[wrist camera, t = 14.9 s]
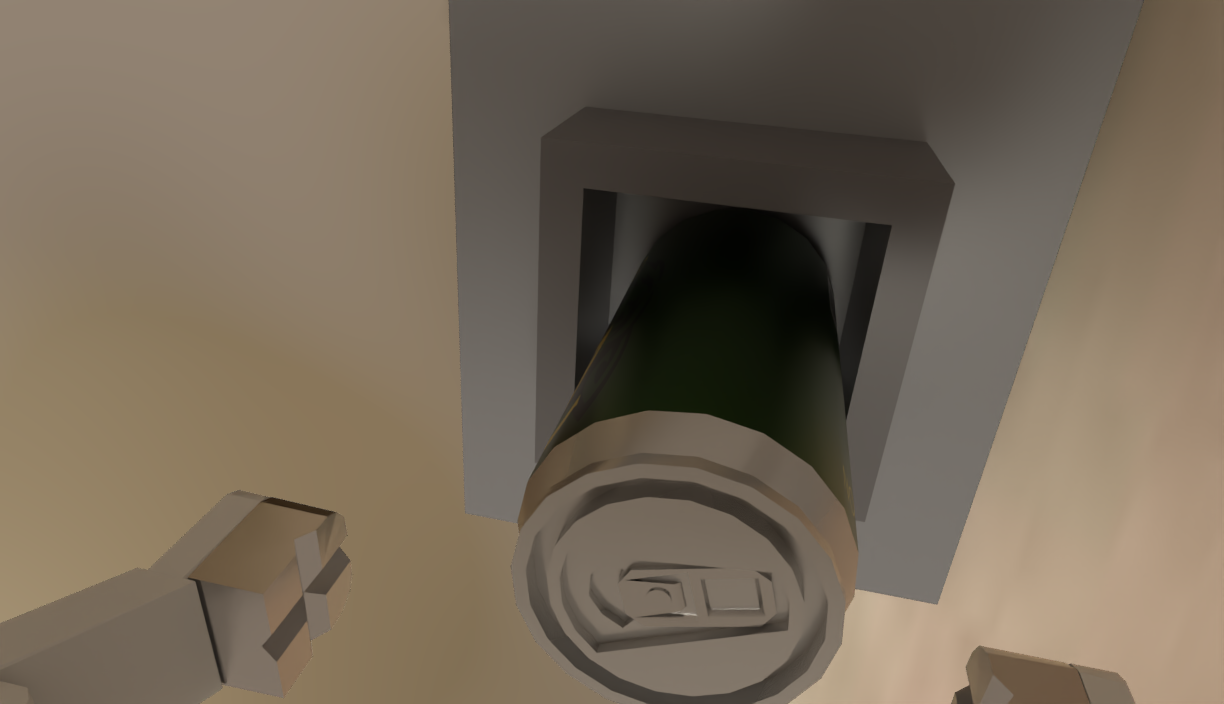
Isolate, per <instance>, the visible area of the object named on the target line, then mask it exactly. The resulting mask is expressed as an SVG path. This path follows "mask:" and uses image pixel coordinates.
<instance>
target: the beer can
mask: <svg viewBox="0 0 1224 704" xmlns="http://www.w3.org/2000/svg"><path fill="white" fill-rule="evenodd" d="M517 523H518V530H519V537H518V541H517V545H516V549H515V553H514V556H513V560H512V564H511V572H512V578H513V586H514V592H515V599H516V605H517V607H518V609H519V611H520V613H521V615H522V617H523V619H524V620H525V622H526V624H527V626H528V628H529V630H530V632H531V634H532V636H533V638H534V640H535V641H536V643H537V644H538V645H539V646H540V647H541V648H542V649H543V650H544V651H545V652H546V653H547V654H548V655H549V656H550V657H551V658H552V659H553V660H554V661H555V662H556V663H557V664H558V665H559V666H560V668H561V669H562V670H563V671H564V672H565V673H566V674H568V675H570V676H571V677H573V678H574V679H576V680H577V681H579V682H581V683H582V684H583V685H585V686H587V687H588V688H590V689H591V690H593V691H594V692H596V693H598V694H599V695H601V696H602V697H604V698H606V699H608V700H611V701H613V702H616V703H619V704H788V703H789V702H791V701H792V700H793V699H795V698H796V697H797V696H799V695H800V694H801V693H803V692H804V691H805V690H807V689H808V688H809V687H810V686H812V685H813V684H814V683H816V682H817V681H818V680H820V679H821V678H822V676H823V675H824V673H825V671H826V669H827V668H828V666H829V664H830V663H831V661H832V659H833V658H834V656H835V654H836V652H837V651H838V649H839V647H840V646H841V644H842V636H843V626H844V615H845V612H846V610H847V608H848V606H849V605H850V603H851V601H852V600H853V598H854V593H855V583H856V574H857V564H858V555H859V552H858V542H857V531H856V521H855V510H854V500H853V489H852V479H851V468H850V458H849V447H848V437H847V427H846V416H845V406H844V395H843V385H842V374H841V364H840V353H839V343H838V332H837V322H836V311H835V301H834V293H833V289H832V286H831V282H830V279H829V275H828V272H827V268H826V265H825V263H824V262H823V260H822V259H821V258H820V256H819V255H818V253H817V252H816V251H815V249H814V248H813V246H812V245H811V244H810V242H809V241H808V239H807V238H805V237H804V236H802V235H801V234H800V233H798V232H797V231H795V230H794V229H793V228H791V227H790V226H788V225H787V224H786V223H784V222H783V221H781V220H779V219H776V218H773V217H770V216H767V215H764V214H761V213H757V212H754V211H751V210H713V211H710V212H707V213H703V214H700V215H697V216H694V217H691V218H687V219H685V220H683V221H682V222H680V223H679V224H678V225H676V226H675V227H673V228H672V229H671V230H669V231H668V232H666V233H665V234H664V235H662V236H661V237H660V238H659V239H658V240H657V242H656V243H655V245H654V246H653V247H652V249H651V250H650V251H649V253H648V254H647V256H646V257H645V258H644V260H643V261H642V263H641V265H640V267H639V269H638V271H637V273H636V275H635V277H634V278H633V280H632V282H631V284H630V286H629V288H628V290H627V292H626V294H625V296H624V298H623V300H622V301H621V303H620V305H619V307H618V309H617V311H616V313H615V315H614V317H613V319H612V321H611V323H610V324H609V326H608V328H607V330H606V332H605V334H604V336H603V338H602V340H601V342H600V344H599V346H598V348H597V349H596V351H595V353H594V355H593V357H592V359H591V361H590V363H589V365H588V367H587V369H586V371H585V372H584V374H583V376H582V378H581V380H580V382H579V384H578V386H577V388H576V390H575V392H574V394H573V395H572V397H571V399H570V401H569V403H568V405H567V407H566V409H565V411H564V413H563V415H562V417H561V418H560V420H559V422H558V424H557V426H556V428H555V430H554V432H553V434H552V436H551V438H550V440H549V441H548V443H547V445H546V447H545V449H544V451H543V453H542V455H541V457H540V459H539V461H538V463H537V464H536V466H535V468H534V470H533V472H532V474H531V476H530V478H529V480H528V482H527V486H526V489H525V493H524V497H523V501H522V505H521V509H520V513H519V516H518V520H517Z"/></svg>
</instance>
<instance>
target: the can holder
mask: <svg viewBox="0 0 1224 704" xmlns="http://www.w3.org/2000/svg"><path fill="white" fill-rule="evenodd" d="M1143 2H1144V0H449V24H450V56H451V85H452V86H451V87H452V118H453V147H454V180H455V212H456V243H457V273H458V306H459V336H460V337H459V338H460V369H461V399H462V432H463V463H464V491H465V492H464V493H465V513H467V514H472V515H477V516H483V517H487V518H493V519H498V520H503V521H508V522H513V523H517V520H518V516H519V513H520V509H521V505H522V501H523V497H524V493H525V489H526V486H527V482H528V480H529V478H530V476H531V474H532V472H533V470H534V468H535V466H536V464H537V463H538V461H539V459H540V457H541V455H542V453H543V451H544V449H545V447H546V445H547V443H548V441H549V440H550V438H551V436H552V434H553V432H554V430H555V428H556V426H557V424H558V422H559V420H560V418H561V417H562V415H563V413H564V411H565V409H566V407H567V405H568V403H569V401H570V399H571V397H572V395H573V394H574V392H575V390H576V388H577V386H578V384H579V382H580V380H581V378H582V376H583V374H584V372H585V371H586V369H587V367H588V365H589V363H590V361H591V359H592V357H593V355H594V353H595V351H596V349H597V348H598V346H599V344H600V342H601V340H602V338H603V336H604V334H605V332H606V330H607V328H608V326H609V324H610V323H611V321H612V319H613V317H614V315H615V313H616V311H617V309H618V307H619V305H620V303H621V301H622V300H623V298H624V296H625V294H626V292H627V290H628V288H629V286H630V284H631V282H632V280H633V278H634V277H635V275H636V273H637V271H638V269H639V267H640V265H641V263H642V261H643V260H644V258H645V257H646V256H647V254H648V253H649V251H650V250H651V249H652V247H653V246H654V245H655V243H656V242H657V240H658V239H659V238H660V237H661V236H662V235H664V234H665V233H666V232H668V231H669V230H671V229H672V228H673V227H675V226H676V225H678V224H679V223H680V222H682V221H683V220H685V219H687V218H691V217H694V216H697V215H700V214H703V213H707V212H710V211H713V210H751V211H754V212H757V213H761V214H764V215H767V216H770V217H773V218H776V219H779V220H781V221H783V222H784V223H786V224H787V225H788V226H790V227H791V228H793V229H794V230H795V231H797V232H798V233H800V234H801V235H802V236H804V237H805V238H807V239H808V241H809V242H810V244H811V245H812V246H813V248H814V249H815V251H816V252H817V253H818V255H819V256H820V258H821V259H822V260H823V262H824V263H825V265H826V268H827V272H828V275H829V279H830V282H831V286H832V289H833V293H834V301H835V311H836V322H837V332H838V343H839V353H840V364H841V374H842V385H843V395H844V406H845V416H846V427H847V437H848V447H849V458H850V468H851V479H852V489H853V500H854V510H855V521H856V531H857V542H858V552H859V555H858V564H857V574H856V583H855V589H859V590H864V591H870V592H875V593H880V594H885V595H890V596H895V597H901V598H906V599H911V600H916V601H921V602H926V603H932V604H938V601H939V598H940V595H941V593H942V590H943V587H944V584H945V581H946V578H947V575H948V572H949V569H950V566H951V563H952V560H953V557H954V555H955V552H956V549H957V546H958V543H959V540H960V537H961V534H962V531H963V528H964V525H965V522H966V519H967V517H968V514H969V511H970V508H971V505H972V502H973V499H974V496H975V493H976V490H977V487H978V484H979V482H980V479H981V476H982V473H983V470H984V467H985V464H986V461H987V458H988V455H989V452H990V449H991V446H992V444H993V441H994V438H995V435H996V432H997V429H998V426H999V423H1000V420H1001V417H1002V414H1003V411H1004V408H1005V406H1006V403H1007V400H1008V397H1009V394H1010V391H1011V388H1012V385H1013V382H1014V379H1015V376H1016V373H1017V370H1018V368H1019V365H1020V362H1021V359H1022V356H1023V353H1024V350H1025V347H1026V344H1027V341H1028V338H1029V335H1030V333H1031V330H1032V327H1033V324H1034V321H1035V318H1036V315H1037V312H1038V309H1039V306H1040V303H1041V300H1042V297H1043V295H1044V292H1045V289H1046V286H1047V283H1048V280H1049V277H1050V274H1051V271H1052V268H1053V265H1054V262H1055V259H1056V257H1057V254H1058V251H1059V248H1060V245H1061V242H1062V239H1063V236H1064V233H1065V230H1066V227H1067V224H1068V222H1069V219H1070V216H1071V213H1072V210H1073V207H1074V204H1075V201H1076V198H1077V195H1078V192H1079V189H1080V186H1081V184H1082V181H1083V178H1084V175H1085V172H1086V169H1087V166H1088V163H1089V160H1090V157H1091V154H1092V151H1093V148H1094V146H1095V143H1096V140H1097V137H1098V134H1099V131H1100V128H1101V125H1102V122H1103V119H1104V116H1105V113H1106V110H1107V108H1108V105H1109V102H1110V99H1111V96H1112V93H1113V90H1114V87H1115V84H1116V81H1117V78H1118V75H1119V73H1120V70H1121V67H1122V64H1123V61H1124V58H1125V55H1126V52H1127V49H1128V46H1129V43H1130V40H1131V37H1132V35H1133V32H1134V29H1135V26H1136V23H1137V20H1138V17H1139V14H1140V11H1141V8H1142V5H1143Z"/></svg>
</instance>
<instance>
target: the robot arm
mask: <svg viewBox="0 0 1224 704" xmlns="http://www.w3.org/2000/svg"><path fill="white" fill-rule="evenodd" d="M346 537H347V530H346V525H345V518H344V516H342V515H340V514H339V513H337V512H333V511H329V510H325V509H321V508H316V507H312V506H308V505H303V504H299V503H295V502H290V501H287V500H282V499H278V498H273V497H266V496H262V495H258V494H254V493H250V492H245V491H241V490H237V491H234V492H232V493H229V494H227V495H226V496H224V497H223V498H222V499H221V500H220V501H219V502H218V503H217V504H216V505H215V506H214V507H213V508H212V509H211V510H210V511H209V512H208V513H207V514H206V515H204V516H203V517H202V519H200V520H199V521H198V522H197V523H196V524H195V525H194V526H193V527H192V528H191V529H190V530H189V531H188V532H187V533H186V534H185V535H184V536H183V537H181V538H180V539H179V541H177V542H176V544H174V545H173V546H172V547H171V548H170V549H169V550H168V551H167V552H166V553H165V554H164V555H163V556H162V557H161V558H160V559H158V561H156V562H155V563H154V564H153V565H152V566H151V567H150V568H149V569H148V570H146V569H141V568H135V569H133V570H131V571H128V572H125V573H123V574H121V575H118V576H116V577H113V578H111V579H108V580H106V581H103V582H101V583H98V584H96V585H94V586H91V587H88V588H86V589H84V590H81V591H79V592H76V593H74V594H71V595H69V596H66V597H64V598H61V599H59V600H57V601H54V602H52V603H49V604H47V605H44V606H42V607H39V608H37V609H34V610H32V611H29V612H27V613H24V614H22V615H19V616H17V617H14V618H12V619H10V620H7V621H5V622H2V623H0V704H200V703H201V702H203V701H204V700H206V699H207V698H209V697H210V696H212V695H214V694H215V693H217V692H218V691H220V690H221V689H222V685H226V686H231V687H235V688H240V689H244V690H249V691H254V692H258V693H263V694H267V695H272V696H277V697H281V698H284V697H285V695H286V694H287V693H288V691H289V690H290V689H291V687H292V686H293V684H294V683H295V681H296V680H297V678H298V677H299V675H300V674H301V673H302V671H303V669H304V668H305V667H306V665H307V664H308V662H309V661H310V659H311V658H312V657H313V656H312V655H313V654H312V645H311V640H312V639H315V638H316V637H318V636H320V635H322V634H324V633H326V632H327V631H329V630H331V629H332V627H333V626H334V624H335V623H336V621H337V620H338V618H339V617H340V615H341V614H342V612H343V609H344V606H345V604H346V601H347V598H348V595H349V593H350V588H351V580H352V569H351V561H350V559H349V558H348V557H347V556H346V554H345V553H344V552H343V551H342V549H341V548H340V547H339V546H340V545H341V544H342V542H343V541H344V540H345V538H346ZM966 671H967V676H968V680H969V686H967V687H965V688H963V689H961V690H959V691H957V692H955V694H954V697H953V700H952V703H951V704H1135V701H1134V699H1133V697H1132V694H1131V692H1130V690H1129V688H1128V685H1127V683H1126V681H1125V680H1124V679H1123V678H1122V677H1121V676H1120V675H1119V674H1118V673H1115V672H1110V671H1105V670H1100V669H1095V668H1090V667H1085V666H1080V665H1075V664H1066V663H1064V662H1059V661H1054V660H1049V659H1044V658H1039V657H1034V656H1029V655H1024V654H1019V653H1014V652H1009V651H1004V650H999V649H994V648H989V647H984V646H978V647H977V648H976V649H975V650H974V651H973V652H972V654H971V656H970V659H969V661H968V663H967V665H966Z"/></svg>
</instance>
